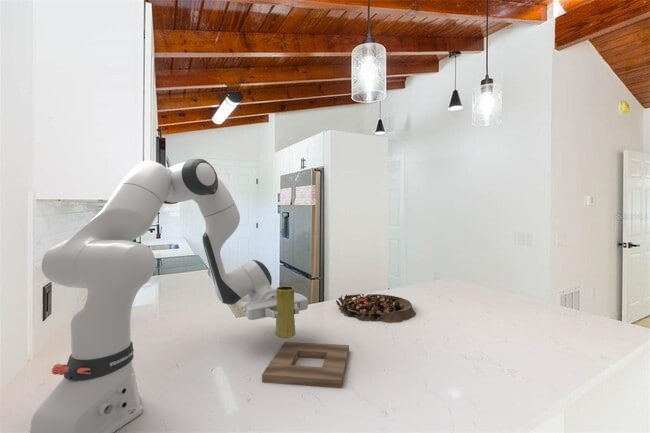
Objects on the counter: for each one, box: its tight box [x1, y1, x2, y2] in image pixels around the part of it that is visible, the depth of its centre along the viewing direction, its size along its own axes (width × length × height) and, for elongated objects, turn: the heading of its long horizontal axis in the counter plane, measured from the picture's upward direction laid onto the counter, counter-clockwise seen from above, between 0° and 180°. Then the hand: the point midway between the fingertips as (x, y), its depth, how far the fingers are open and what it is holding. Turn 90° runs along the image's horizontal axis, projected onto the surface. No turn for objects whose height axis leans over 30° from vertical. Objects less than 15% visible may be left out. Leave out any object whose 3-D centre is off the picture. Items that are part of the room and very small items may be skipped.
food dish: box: [335, 293, 417, 324], centre depth 142 cm, size 35×33×8 cm
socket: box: [261, 341, 350, 389], centre depth 93 cm, size 21×21×2 cm
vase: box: [275, 285, 297, 339], centre depth 98 cm, size 6×6×14 cm
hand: (286, 313), depth 97 cm, fingers closed on vase, 5 cm apart
